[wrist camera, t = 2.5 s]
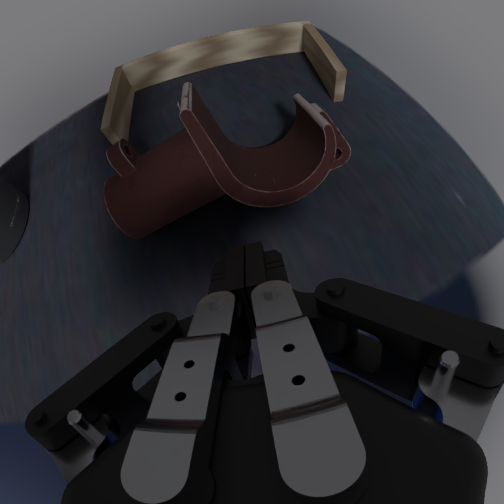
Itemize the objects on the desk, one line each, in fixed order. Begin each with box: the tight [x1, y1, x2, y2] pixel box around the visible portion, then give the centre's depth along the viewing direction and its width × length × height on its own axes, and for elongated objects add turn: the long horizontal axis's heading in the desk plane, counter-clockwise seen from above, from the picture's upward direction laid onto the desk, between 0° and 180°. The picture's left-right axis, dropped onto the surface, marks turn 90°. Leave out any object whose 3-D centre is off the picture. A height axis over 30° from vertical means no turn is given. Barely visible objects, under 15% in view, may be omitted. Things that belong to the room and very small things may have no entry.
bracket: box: [104, 82, 351, 239], centre depth 20 cm, size 6×17×10 cm, turn 109°
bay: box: [100, 21, 347, 145], centre depth 26 cm, size 23×11×4 cm, turn 100°
